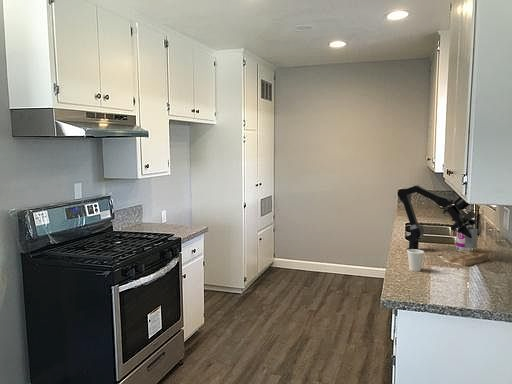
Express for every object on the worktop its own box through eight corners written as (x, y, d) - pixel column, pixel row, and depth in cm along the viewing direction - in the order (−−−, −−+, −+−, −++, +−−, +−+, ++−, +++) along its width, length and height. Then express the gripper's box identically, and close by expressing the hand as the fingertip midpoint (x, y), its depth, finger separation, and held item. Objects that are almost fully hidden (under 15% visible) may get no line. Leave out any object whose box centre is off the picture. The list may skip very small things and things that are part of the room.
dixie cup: (403, 268, 226) (403, 249, 225) (415, 266, 229) (416, 248, 228) (414, 272, 218) (414, 253, 217) (427, 271, 221) (427, 252, 220)
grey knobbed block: (464, 246, 243) (465, 225, 242) (468, 245, 246) (470, 224, 244) (472, 248, 239) (473, 226, 238) (476, 247, 242) (477, 225, 241)
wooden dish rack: (440, 261, 239) (441, 253, 239) (464, 255, 253) (464, 248, 252) (464, 267, 228) (465, 259, 227) (488, 261, 241) (488, 253, 241)
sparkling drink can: (466, 253, 259) (468, 228, 258) (453, 250, 266) (454, 226, 264) (472, 251, 265) (474, 227, 263) (459, 248, 271) (460, 225, 269)
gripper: (456, 207, 238) (475, 230, 230) (475, 205, 249) (493, 227, 241) (443, 219, 246) (460, 242, 238) (461, 216, 256) (478, 238, 248)
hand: (473, 237), depth 241 cm, fingers closed on grey knobbed block, 4 cm apart
